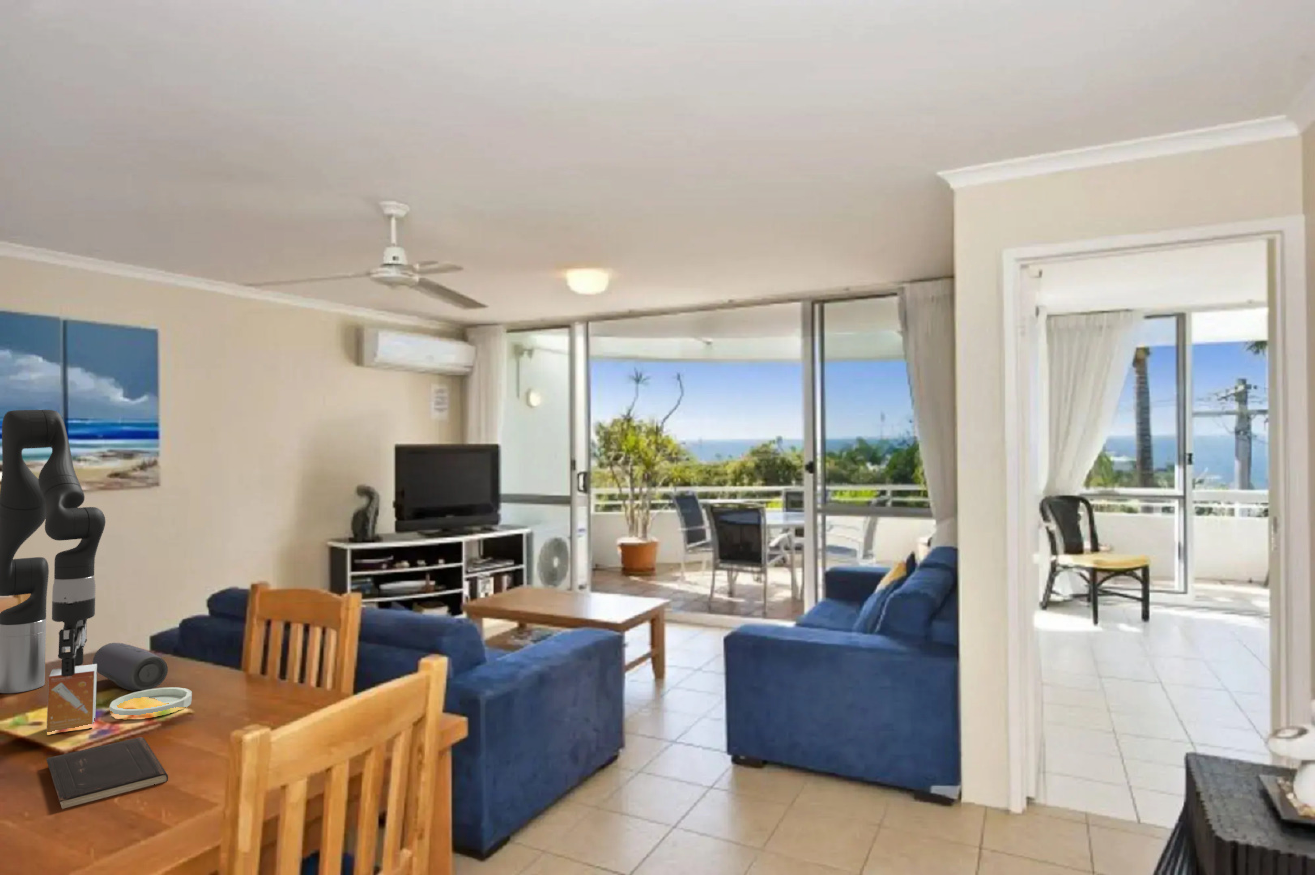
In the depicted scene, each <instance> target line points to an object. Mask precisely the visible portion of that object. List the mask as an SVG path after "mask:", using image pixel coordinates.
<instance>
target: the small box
mask: <svg viewBox="0 0 1315 875" xmlns="http://www.w3.org/2000/svg"><path fill="white" fill-rule="evenodd" d="M61 671H62V667H60V668H52V669H51V672H50V674H49V676H48V682H47V684H48V686H47V711H46V733H47V732H52V731H55V730H62V729H67V728H75V727H79V726H83V725H88V724H93V722H94V723H95V721H94V718H95V719H96V710H97V709H96V707H97V706H96V705H97V679H98V678H97V677H98V676H97V673H98V672H97V664H93V663H92V664H86V665H85V664H84V665H83V664H82V665H79V666H75V674H74V675H72V676H65V677H63V676H62V675H61Z"/></svg>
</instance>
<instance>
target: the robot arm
mask: <svg viewBox="0 0 1315 875" xmlns="http://www.w3.org/2000/svg"><path fill="white" fill-rule="evenodd" d="M66 428H67V427H66V424H65V421H64V420H63V417H62V414H60V413H59V412H58V411H56V410H53V409H16V410H8V411H7V412H6V413H5V414H4V416H3V418H2V423H1V452H2V454H1V457H2V458H1V461H2V462H1V463H2V467H1V468H2V469H1V481H0V597H10V596H11V597H12V596H18V595H19V596H20V595H21V596H22V595H29V597H28V598H26V599H25V600H23V601H21V603H18V604H16V605H13V606H10V607H9V608H6V609H4V610H2V611H0V694H15V693H16V694H17V693H23V692H28V691H32V690H36V689H38V688H41V687H43V686H44V685H45V684H46V683H45V682H46V679H45V678H46V650H47V649H46V645H47V644H46V641H47V640H46V639H47V597H48V595H47V594H48V584H49V574H50V570H49V568H50V567H49V562H48V560H47V559H46V558H45V557H41V556H40V557H39V556H38V557H24V558H21V557H20V558H15V556H16V553H17V552H18V550H19V549H20V547H21V546H22V545H23V544H24V543H25V542H26V541H27V540H28V539H29V538H30V537H32V536H33V534H34V533H35V532H36V531H37V530H39V528H40V527H41V526H42V525H43V523H44V532H45V533H46V535H47V536H48V538H50V539H51V540H53V541H71V540H80V542H79V543H78V544H77V545H76V546H75V547H73V548H69V549H66V550H63V551H60V552H58V553H57V554H55V556H54V563H53V564H54V568H53V569H54V573H53V574H54V577H53V578H54V580H53V585H52V595H51V599H52V600H51V620H52V621H53V622H56V623H60V622H62V623H63V629H61V628H60V630H59V632H58V655H57V658H58V660H59V659H60V660H61V668H62V671H61V675H62V676H63V677H65V676H72V675H74V674H75V666H83V663H84V649H85V647H86V643H87V641H88V639H87V630H88V629H87V624H88V623H87V621H88V620H89V619H92V618H93V617H94V616H95V615H96V580H95V563H96V562H95V561H96V559H95V558H96V554H97V550H98V547H99V543H100V541H101V539H102V535H103V533H104V529H105V527H106V517H105V516H106V515H105V514H104V512H103V511H102V510H101V509H100V508H98V507H94V506H89V507H88V506H85V507H81V505H83V503H84V501H85V492H84V490H83V488H82V485H81V484H80V481H79V478H78V475H77V474H76V471H75V467H74V463H73V458H72V451H71V448H70V442H69V438H68V434H67V429H66ZM45 448H51V454H50V456H49V458H48V459H47V461H46V462H45V463H44V465H43V466H42V468H41V470H40V471H39V475H38V477H37V476H36V475H35V474H34V472H33V471H32V470H31V469H30V468H29V467H28V465H27V463H26V462H25V461H24V458H23V451H24V449H27V450H28V449H45ZM67 650H69V651H67Z"/></svg>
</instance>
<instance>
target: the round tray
mask: <svg viewBox="0 0 1315 875" xmlns="http://www.w3.org/2000/svg"><path fill="white" fill-rule="evenodd" d="M141 697H149V698H155V699H157V700H158V701H161V702H163V703H169V704H166V705H162V706H157V707H151V708H144V709H123V708H118V707H117V705H119V704H120V703H123V702H124V701H128V700H130V699H133V698H141ZM192 697H193V692H192V690H190V689H188V688H184V687H179V686H177V687H175V686H174V687H172V686H171V687H155V688H153V689H148V690H138V691H133V692H131V693H128V694H125V695H122V696H119V697H117V698H116V699H114V700H112V701H111V702H110V704H109V710H110V711H112V712H113V713H114V714H119V715H141V714H146V713H153V712H158V711H163V710H167V709H170V708H174V707H175V708H176V707H186V708H189V706H191V705H192V700H193V698H192Z"/></svg>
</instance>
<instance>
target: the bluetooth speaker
mask: <svg viewBox="0 0 1315 875" xmlns="http://www.w3.org/2000/svg"><path fill="white" fill-rule="evenodd" d="M92 664H97V673H98V674H99V675H101V676H103V677H104V678H107V679H108V680H110V681H112V682H114V683H115V685H116V686H118V687H120V688H122V689H125V690H127V691H131V692H136V691H143V690H148V689H156V688H158V686H160V685H162V683H163V682H164V680H166V677H167V675H168V672H169V669H168V664H167V663H166V661H165V659H163V658H161V657H160V656H159V655H157V654H155V653H153V652H150V651H149V650H145V649H142V648H140V647H138V646H133V645H130V644H127V643H120V642H110V643H106V644H105V645H103V646H101V647H100V648H98V650H97V651H96V652H95V653H94V656H93V659H92Z"/></svg>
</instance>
